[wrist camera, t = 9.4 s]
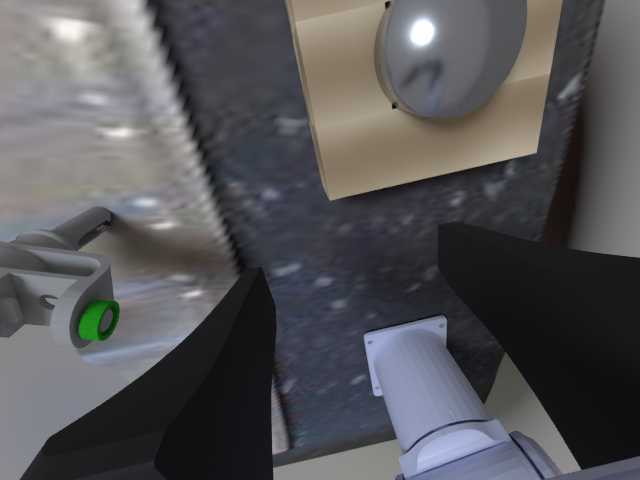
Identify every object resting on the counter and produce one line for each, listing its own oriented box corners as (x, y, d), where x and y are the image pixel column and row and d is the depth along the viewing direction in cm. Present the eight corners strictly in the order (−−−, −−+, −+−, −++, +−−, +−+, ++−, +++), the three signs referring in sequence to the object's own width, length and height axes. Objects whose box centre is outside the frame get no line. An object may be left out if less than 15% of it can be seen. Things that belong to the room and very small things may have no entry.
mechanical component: (182, 248, 20) (98, 366, 11) (15, 225, 18) (-255, 347, 9) (182, 210, 19) (88, 309, 10) (3, 181, 17) (-324, 272, 8)
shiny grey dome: (449, 102, 17) (516, 102, 12) (362, 122, 17) (393, 130, 12) (452, -14, 14) (539, -75, 9) (349, 9, 14) (382, -40, 9)
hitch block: (489, 143, 19) (536, 152, 15) (321, 181, 19) (329, 200, 15) (511, -109, 13) (594, -186, 10) (273, -56, 13) (269, -114, 10)
